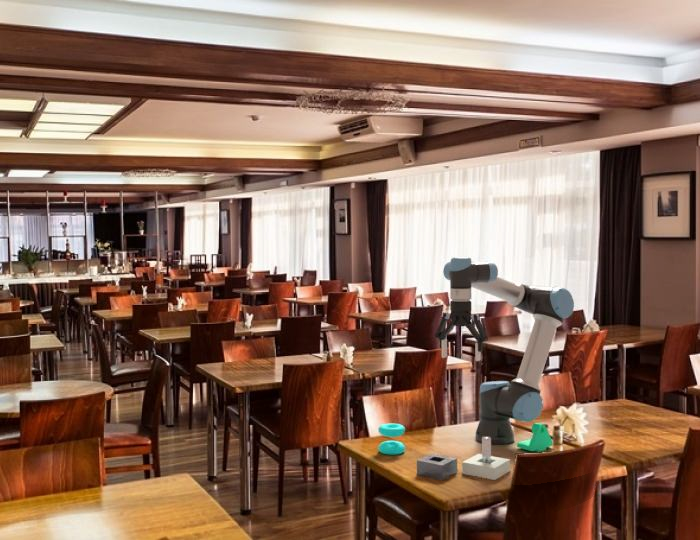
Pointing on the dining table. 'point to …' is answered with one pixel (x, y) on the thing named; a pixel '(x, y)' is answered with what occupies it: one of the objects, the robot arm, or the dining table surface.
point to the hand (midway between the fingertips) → (460, 359)
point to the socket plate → (486, 467)
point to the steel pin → (486, 450)
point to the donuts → (391, 446)
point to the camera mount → (537, 439)
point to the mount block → (437, 466)
